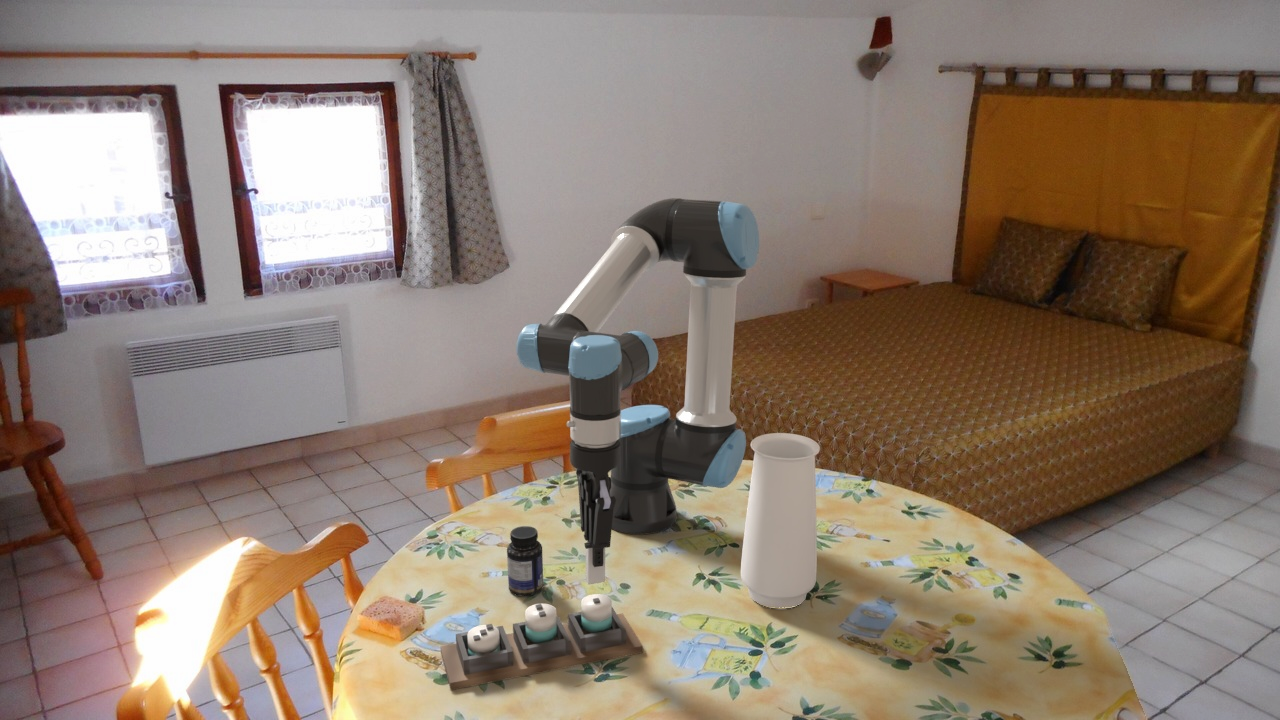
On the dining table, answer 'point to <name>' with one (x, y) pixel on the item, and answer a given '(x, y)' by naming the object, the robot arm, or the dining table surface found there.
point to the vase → (781, 521)
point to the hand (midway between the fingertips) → (595, 580)
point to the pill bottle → (525, 562)
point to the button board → (538, 651)
